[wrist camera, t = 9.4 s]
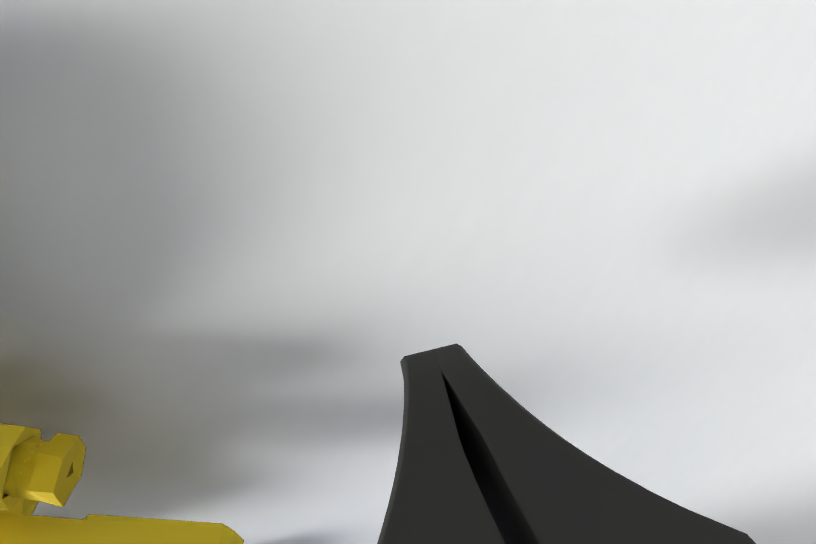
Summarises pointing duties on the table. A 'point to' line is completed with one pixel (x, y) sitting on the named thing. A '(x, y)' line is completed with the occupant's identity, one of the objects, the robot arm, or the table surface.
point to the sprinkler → (54, 482)
